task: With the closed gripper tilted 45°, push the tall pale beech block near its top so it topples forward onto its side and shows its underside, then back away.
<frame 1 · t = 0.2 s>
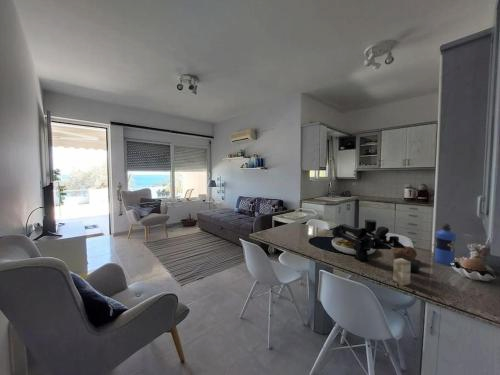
hand: (397, 247, 111), 16 cm above the breakfast bar, tool horizontal, fingers open, 9 cm apart
end cap: (408, 270, 121), on the breakfast bar
decorative rock: (403, 261, 134), on the breakfast bar
bowl: (352, 249, 156), on the breakfast bar
water bottle: (444, 262, 131), on the breakfast bar
beech block: (401, 282, 107), on the breakfast bar
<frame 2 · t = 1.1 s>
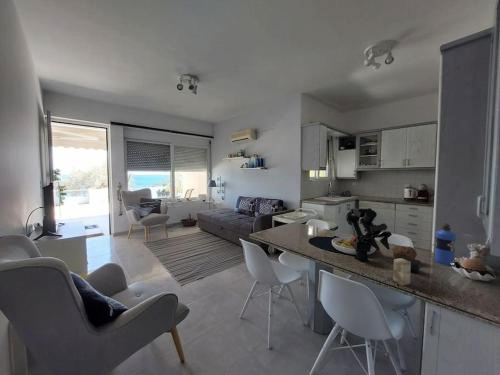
hand: (384, 249, 116), 14 cm above the breakfast bar, tool tilted 45°, fingers open, 6 cm apart
nothing on the breakfast bar moved.
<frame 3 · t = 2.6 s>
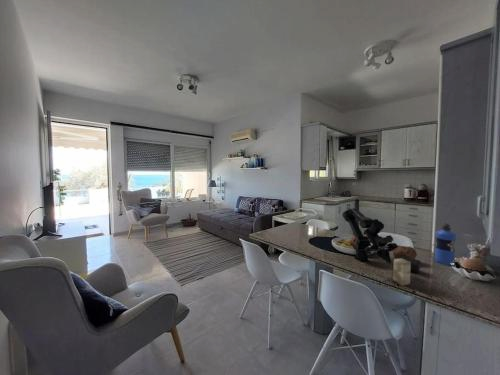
hand: (390, 262, 113), 8 cm above the breakfast bar, tool tilted 45°, fingers closed
nothing on the breakfast bar moved.
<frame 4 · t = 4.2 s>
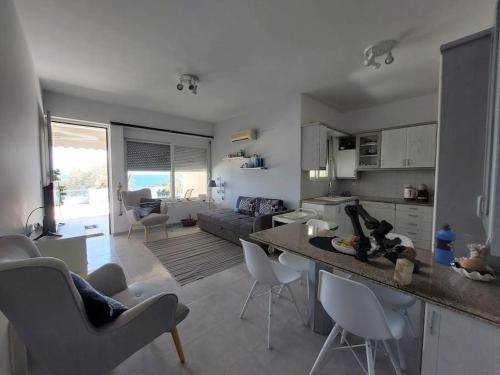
hand: (399, 266, 108), 8 cm above the breakfast bar, tool tilted 45°, fingers closed
beech block: (401, 281, 107), on the breakfast bar, tilted 9°
everything else where it was.
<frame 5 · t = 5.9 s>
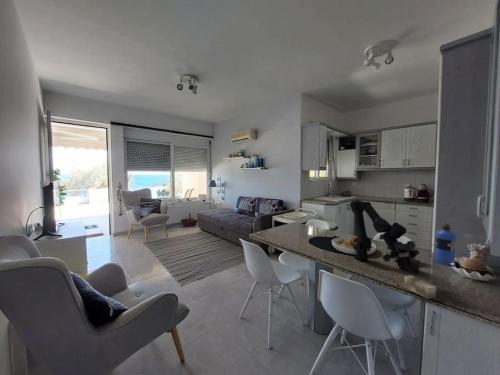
hand: (412, 271, 101), 8 cm above the breakfast bar, tool tilted 45°, fingers closed
beech block: (406, 280, 104), point 2 cm above the breakfast bar, tilted 90°
everything else where it was.
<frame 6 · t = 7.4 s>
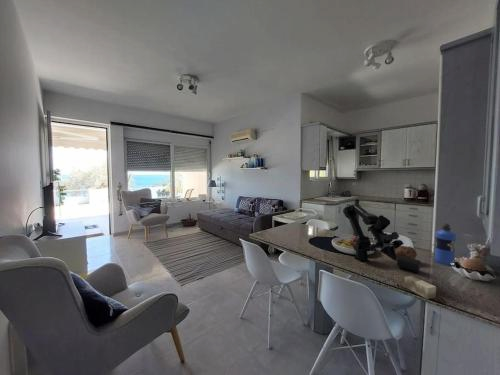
hand: (395, 260, 110), 10 cm above the breakfast bar, tool tilted 45°, fingers closed
nothing on the breakfast bar moved.
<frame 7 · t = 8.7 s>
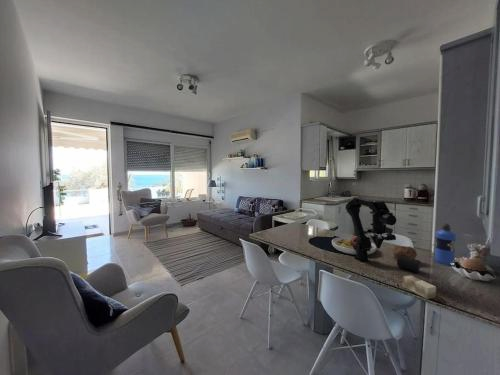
hand: (378, 248, 121), 13 cm above the breakfast bar, tool pointing down, fingers closed
nothing on the breakfast bar moved.
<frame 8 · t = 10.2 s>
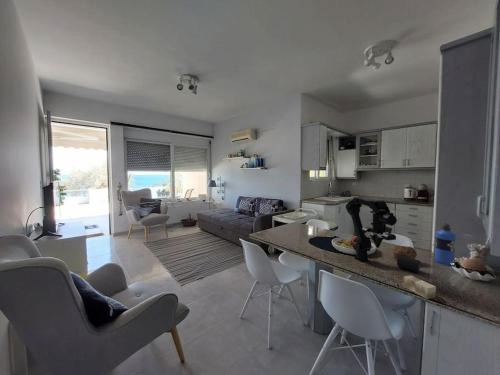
hand: (377, 247, 122), 13 cm above the breakfast bar, tool pointing down, fingers closed
nothing on the breakfast bar moved.
at the end: beech block tilted 90°; beech block inside the target area (2.0 cm from its centre), point 2.4 cm above the breakfast bar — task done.
